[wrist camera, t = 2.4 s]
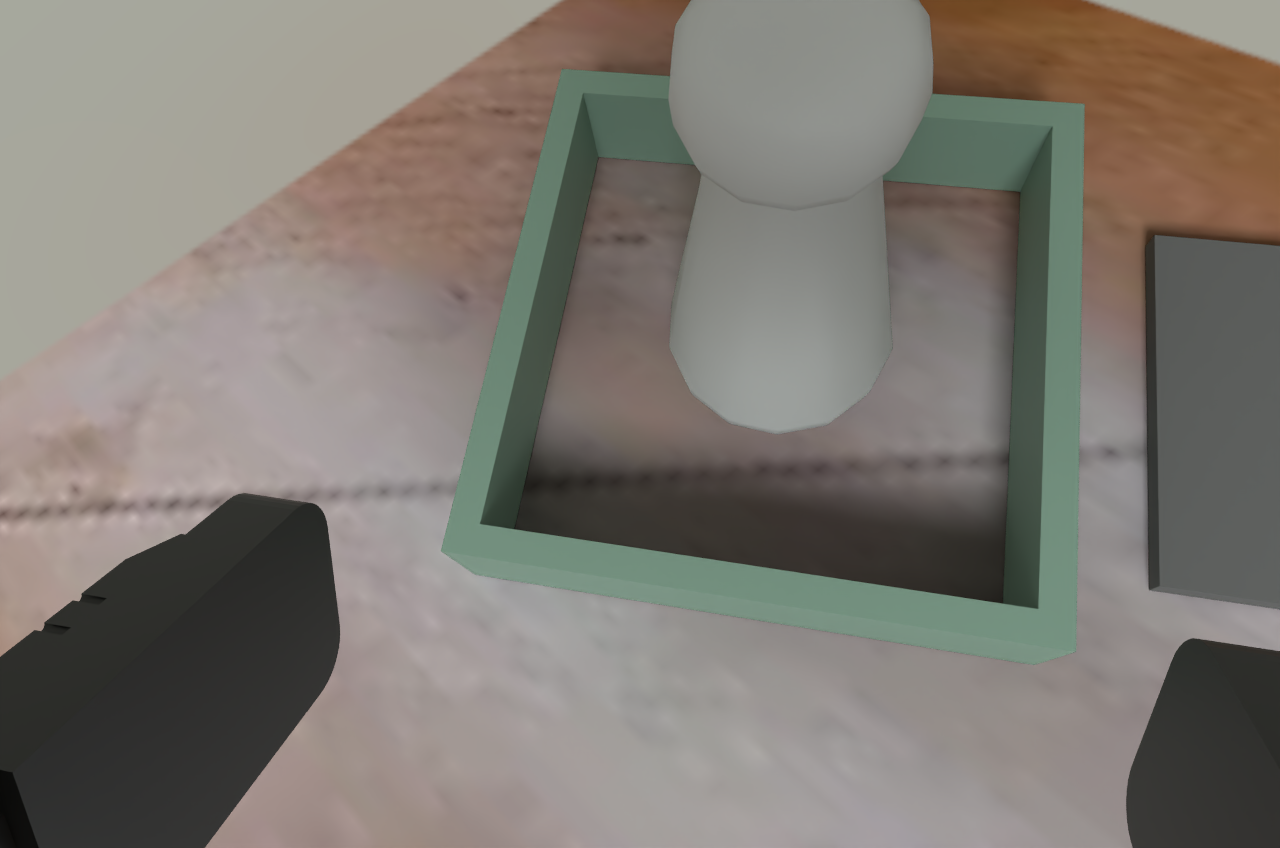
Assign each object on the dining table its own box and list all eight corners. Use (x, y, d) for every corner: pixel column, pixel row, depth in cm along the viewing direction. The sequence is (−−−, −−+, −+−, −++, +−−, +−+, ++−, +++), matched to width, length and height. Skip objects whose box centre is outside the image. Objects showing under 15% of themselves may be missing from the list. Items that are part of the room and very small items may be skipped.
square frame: (1049, 171, 27) (1084, 103, 24) (1034, 664, 22) (1075, 651, 19) (579, 134, 29) (562, 68, 27) (474, 574, 25) (440, 551, 22)
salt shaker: (851, 258, 27) (942, -156, 15) (903, 436, 25) (1059, 126, 13) (658, 297, 27) (591, -79, 15) (694, 476, 25) (648, 210, 13)
